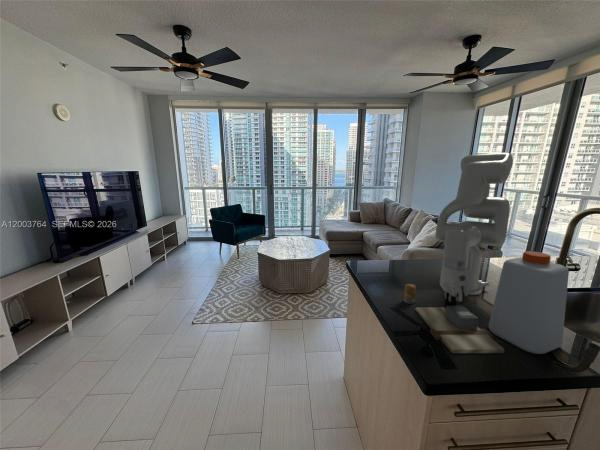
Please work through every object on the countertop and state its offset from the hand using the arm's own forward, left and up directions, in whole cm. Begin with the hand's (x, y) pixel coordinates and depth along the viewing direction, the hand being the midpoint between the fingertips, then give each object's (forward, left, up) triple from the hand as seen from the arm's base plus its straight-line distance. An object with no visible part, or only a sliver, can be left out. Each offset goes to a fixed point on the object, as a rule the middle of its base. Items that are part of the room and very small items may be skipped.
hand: (449, 309), depth 91 cm
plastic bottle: (-16, +12, -3) cm, 21 cm away
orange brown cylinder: (+10, -12, -3) cm, 15 cm away
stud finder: (0, +6, -1) cm, 6 cm away
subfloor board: (+3, +7, -3) cm, 9 cm away
